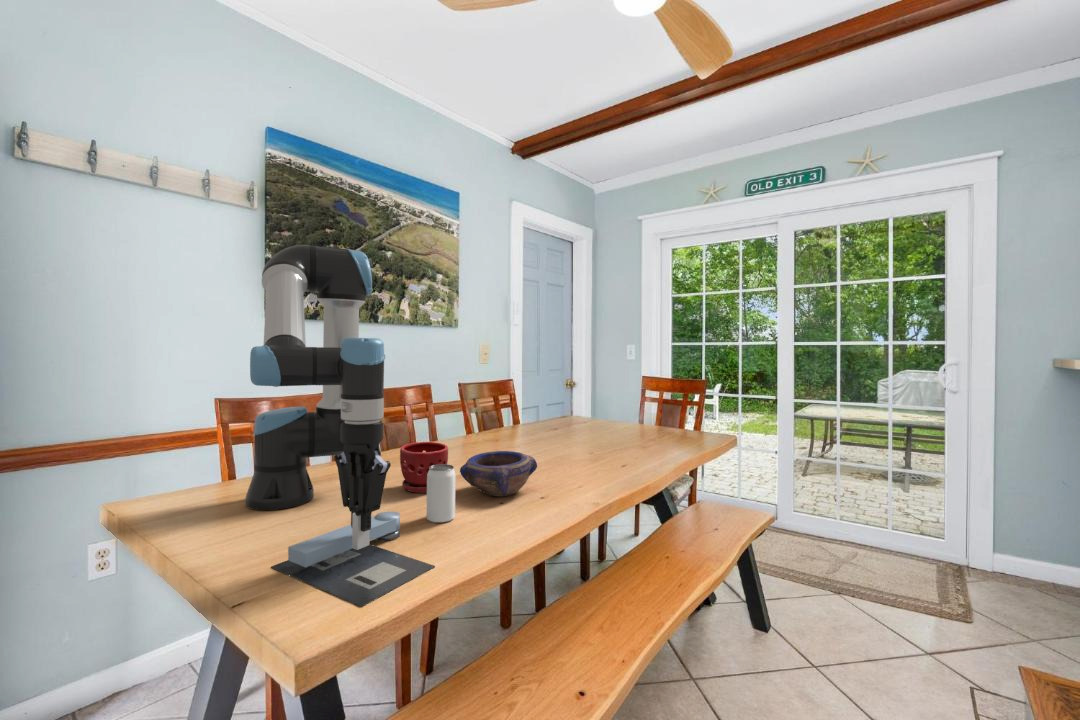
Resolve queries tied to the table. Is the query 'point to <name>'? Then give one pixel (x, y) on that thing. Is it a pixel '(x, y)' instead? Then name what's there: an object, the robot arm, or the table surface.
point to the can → (441, 493)
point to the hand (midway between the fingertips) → (360, 546)
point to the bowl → (498, 472)
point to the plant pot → (420, 463)
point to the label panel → (358, 573)
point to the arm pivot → (389, 536)
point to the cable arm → (340, 540)
